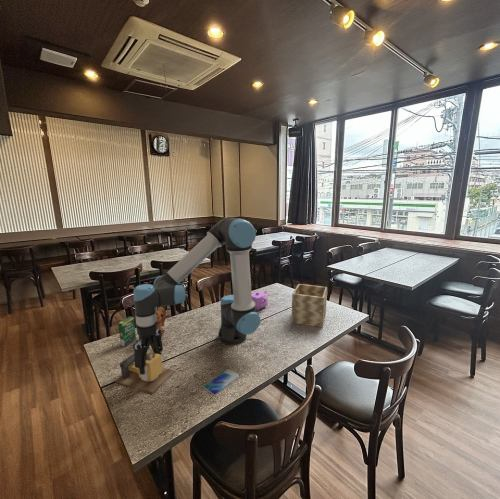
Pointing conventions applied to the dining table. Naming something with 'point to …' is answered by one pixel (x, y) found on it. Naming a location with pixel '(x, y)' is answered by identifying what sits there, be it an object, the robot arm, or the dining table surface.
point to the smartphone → (221, 382)
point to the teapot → (260, 299)
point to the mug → (160, 319)
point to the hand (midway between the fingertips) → (151, 374)
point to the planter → (309, 305)
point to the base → (135, 382)
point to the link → (150, 366)
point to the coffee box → (127, 331)
